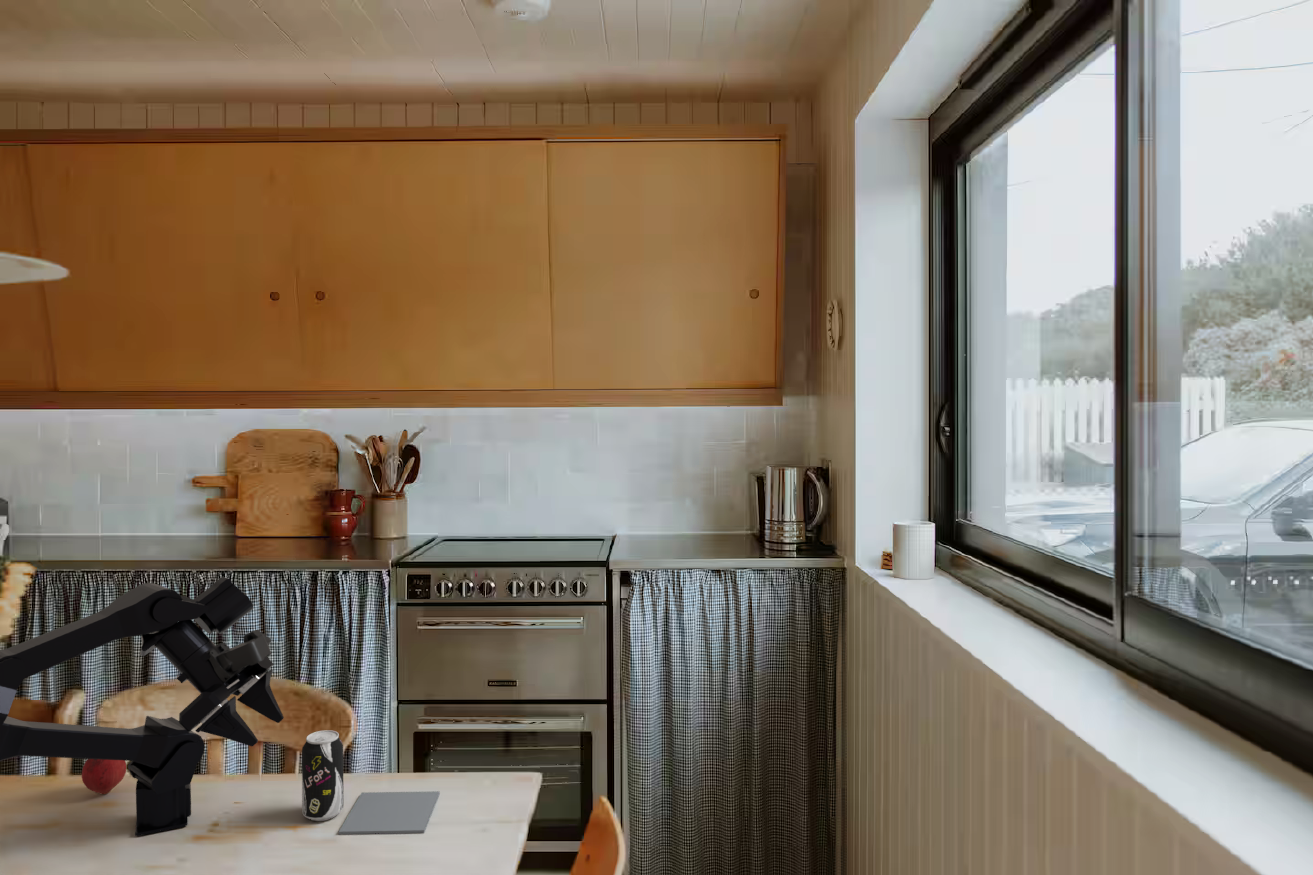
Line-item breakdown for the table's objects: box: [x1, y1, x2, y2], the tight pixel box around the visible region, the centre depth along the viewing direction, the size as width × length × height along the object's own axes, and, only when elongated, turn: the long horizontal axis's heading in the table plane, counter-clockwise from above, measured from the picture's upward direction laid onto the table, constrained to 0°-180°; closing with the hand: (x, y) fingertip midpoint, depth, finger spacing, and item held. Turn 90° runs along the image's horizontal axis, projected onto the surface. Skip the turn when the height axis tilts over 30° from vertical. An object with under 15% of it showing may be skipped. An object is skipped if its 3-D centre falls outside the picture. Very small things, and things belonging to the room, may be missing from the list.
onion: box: [81, 759, 127, 795], centre depth 134 cm, size 6×6×8 cm
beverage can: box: [301, 729, 344, 822], centre depth 129 cm, size 6×6×12 cm
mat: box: [338, 790, 441, 835], centre depth 130 cm, size 12×12×1 cm
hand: (268, 731), depth 128 cm, fingers open, 9 cm apart
